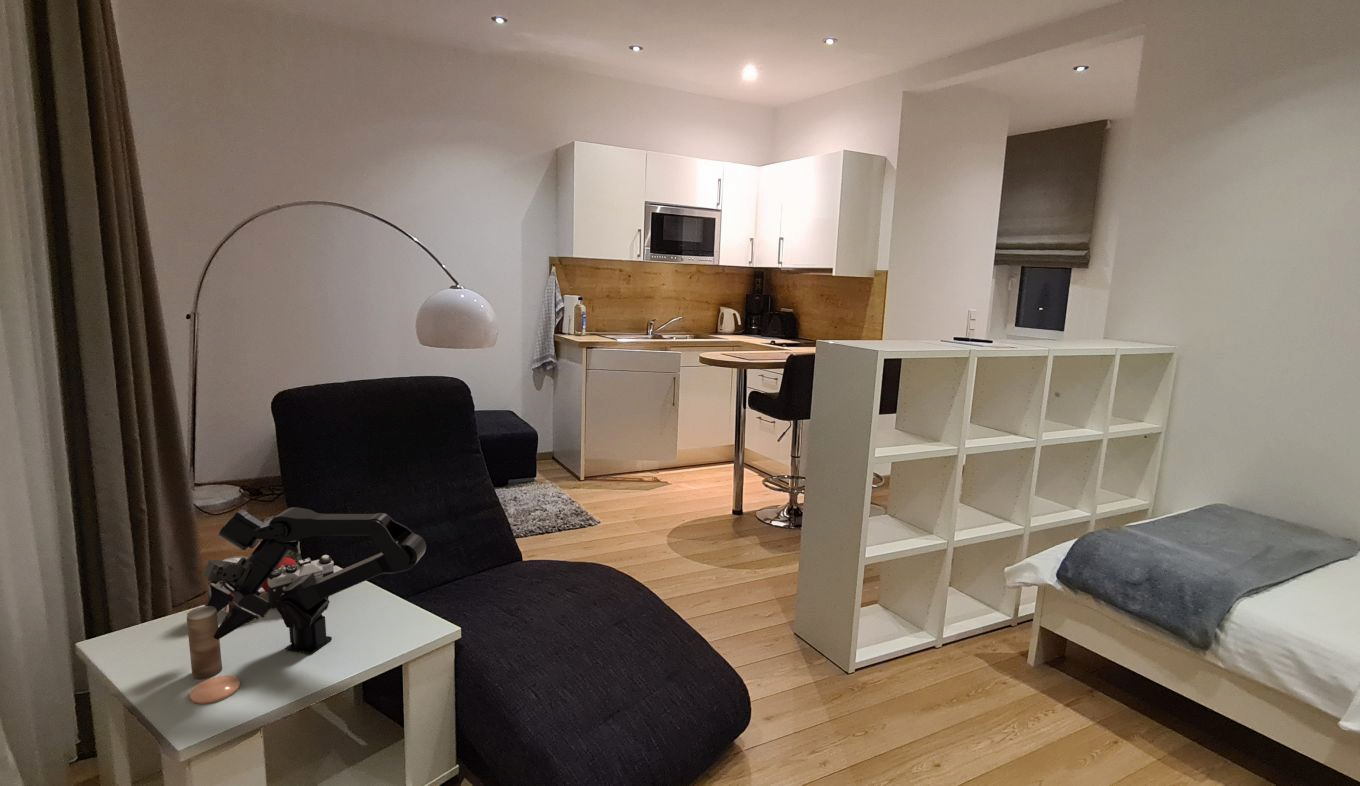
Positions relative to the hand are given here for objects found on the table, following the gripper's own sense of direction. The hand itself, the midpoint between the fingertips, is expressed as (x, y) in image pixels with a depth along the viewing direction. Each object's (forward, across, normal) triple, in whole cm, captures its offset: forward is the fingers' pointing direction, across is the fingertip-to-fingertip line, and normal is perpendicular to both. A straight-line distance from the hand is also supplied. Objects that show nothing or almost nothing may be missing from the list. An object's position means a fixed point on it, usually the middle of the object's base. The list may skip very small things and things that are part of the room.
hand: (207, 630), depth 141 cm
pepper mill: (+7, 0, +5) cm, 9 cm away
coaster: (+8, +9, +5) cm, 12 cm away
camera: (-11, -16, +24) cm, 31 cm away
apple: (-10, -27, +23) cm, 37 cm away
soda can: (-3, -25, +15) cm, 29 cm away
